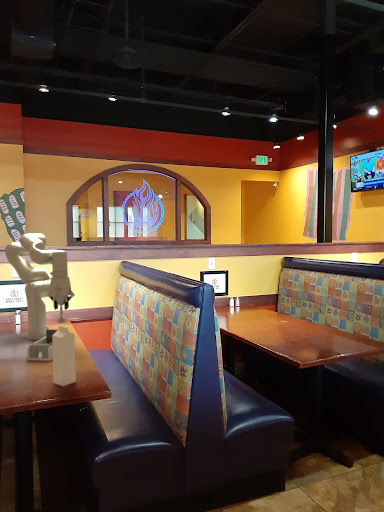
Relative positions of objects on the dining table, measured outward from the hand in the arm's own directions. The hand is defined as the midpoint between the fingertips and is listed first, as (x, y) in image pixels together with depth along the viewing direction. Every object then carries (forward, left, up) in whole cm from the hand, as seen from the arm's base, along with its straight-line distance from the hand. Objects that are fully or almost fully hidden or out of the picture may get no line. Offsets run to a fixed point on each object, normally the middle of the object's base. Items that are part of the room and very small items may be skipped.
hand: (61, 308), depth 213 cm
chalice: (0, 0, -7) cm, 7 cm away
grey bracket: (+16, 0, -19) cm, 25 cm away
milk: (+53, +23, -19) cm, 61 cm away
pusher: (+16, 0, -18) cm, 24 cm away
